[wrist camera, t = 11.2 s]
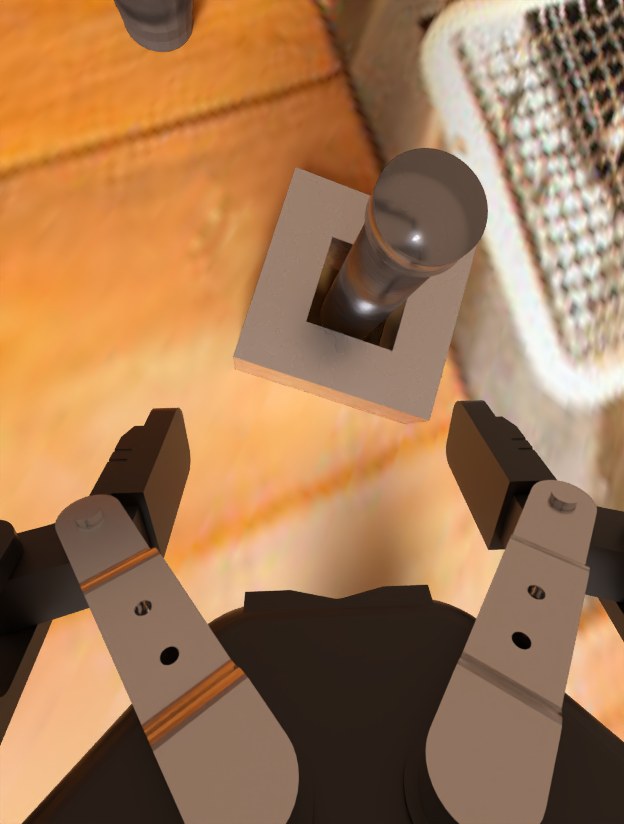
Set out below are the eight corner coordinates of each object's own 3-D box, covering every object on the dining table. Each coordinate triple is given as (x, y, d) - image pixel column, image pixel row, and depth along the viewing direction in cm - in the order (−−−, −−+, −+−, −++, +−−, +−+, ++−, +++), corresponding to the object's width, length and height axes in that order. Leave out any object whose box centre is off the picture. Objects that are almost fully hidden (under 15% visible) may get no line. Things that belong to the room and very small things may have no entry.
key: (307, 335, 30) (360, 238, 16) (326, 275, 30) (392, 130, 16) (368, 356, 30) (471, 279, 16) (386, 296, 31) (500, 173, 17)
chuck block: (235, 369, 29) (233, 356, 25) (289, 203, 30) (295, 166, 26) (405, 424, 30) (429, 420, 26) (449, 263, 32) (478, 237, 28)
